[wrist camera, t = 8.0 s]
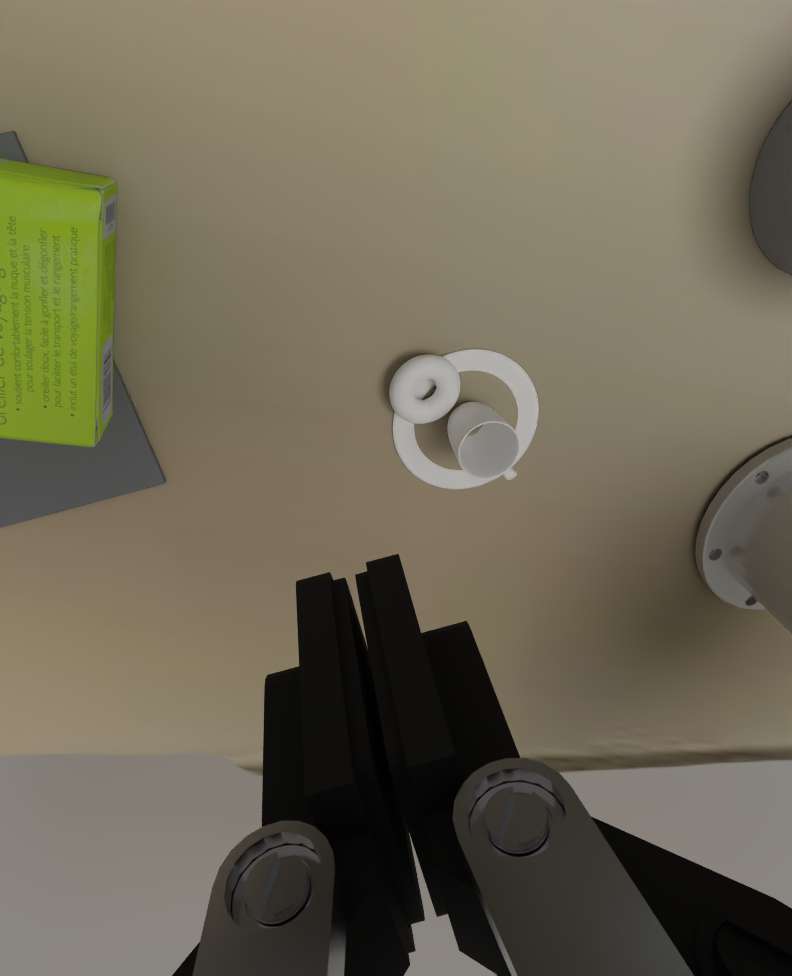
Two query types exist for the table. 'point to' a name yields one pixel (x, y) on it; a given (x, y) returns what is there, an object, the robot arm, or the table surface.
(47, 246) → the box
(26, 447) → the mat
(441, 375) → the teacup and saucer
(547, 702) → the table surface
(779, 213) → the coffee mug
